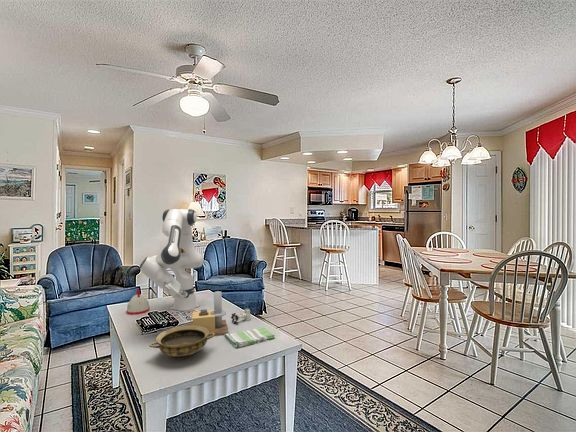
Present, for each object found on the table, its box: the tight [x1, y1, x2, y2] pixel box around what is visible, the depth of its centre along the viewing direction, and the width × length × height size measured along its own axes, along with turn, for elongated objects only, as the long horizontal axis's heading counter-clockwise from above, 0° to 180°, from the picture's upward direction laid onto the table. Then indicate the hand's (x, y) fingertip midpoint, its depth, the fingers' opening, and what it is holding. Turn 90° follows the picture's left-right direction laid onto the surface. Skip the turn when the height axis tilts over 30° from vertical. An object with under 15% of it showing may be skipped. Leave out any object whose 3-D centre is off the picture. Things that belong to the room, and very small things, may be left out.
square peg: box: [200, 308, 208, 316], centre depth 179 cm, size 4×4×10 cm
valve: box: [230, 308, 252, 325], centre depth 193 cm, size 7×7×12 cm
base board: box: [185, 319, 229, 338], centre depth 180 cm, size 20×23×2 cm
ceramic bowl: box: [148, 325, 215, 359], centre depth 150 cm, size 30×24×10 cm
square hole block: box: [192, 290, 227, 331], centre depth 180 cm, size 12×18×20 cm, turn 106°
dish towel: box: [223, 326, 276, 349], centre depth 169 cm, size 17×23×4 cm
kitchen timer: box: [126, 289, 150, 316], centre depth 214 cm, size 14×14×15 cm
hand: (184, 296), depth 176 cm, fingers open, 8 cm apart
